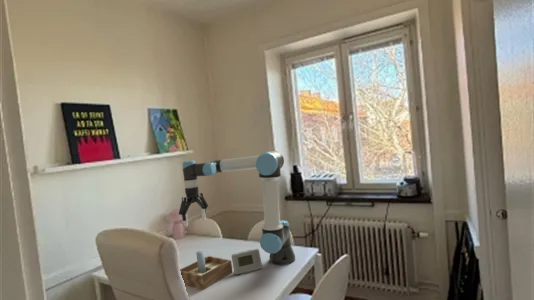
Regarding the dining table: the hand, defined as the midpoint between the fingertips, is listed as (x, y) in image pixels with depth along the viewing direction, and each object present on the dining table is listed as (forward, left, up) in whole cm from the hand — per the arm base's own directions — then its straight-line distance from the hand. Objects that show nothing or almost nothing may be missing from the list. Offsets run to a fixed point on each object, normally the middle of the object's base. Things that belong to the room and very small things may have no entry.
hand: (195, 222), depth 190 cm
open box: (-15, +9, -27) cm, 32 cm away
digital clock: (-30, -8, -27) cm, 41 cm away
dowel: (-12, +9, -27) cm, 31 cm away
